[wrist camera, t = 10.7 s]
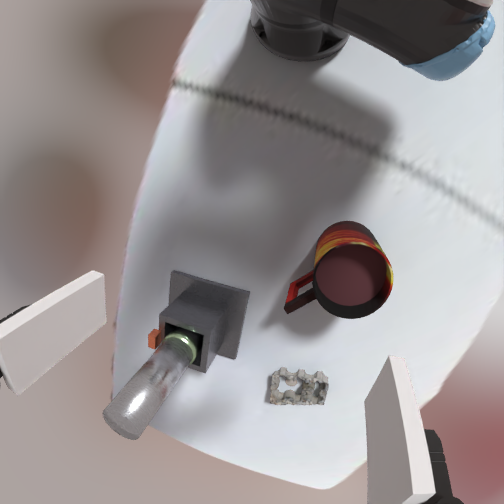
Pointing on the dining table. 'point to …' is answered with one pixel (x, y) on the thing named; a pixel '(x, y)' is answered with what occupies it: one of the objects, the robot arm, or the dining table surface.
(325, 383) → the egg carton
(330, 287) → the mug
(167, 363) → the column
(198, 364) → the stand
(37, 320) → the robot arm
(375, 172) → the dining table surface
